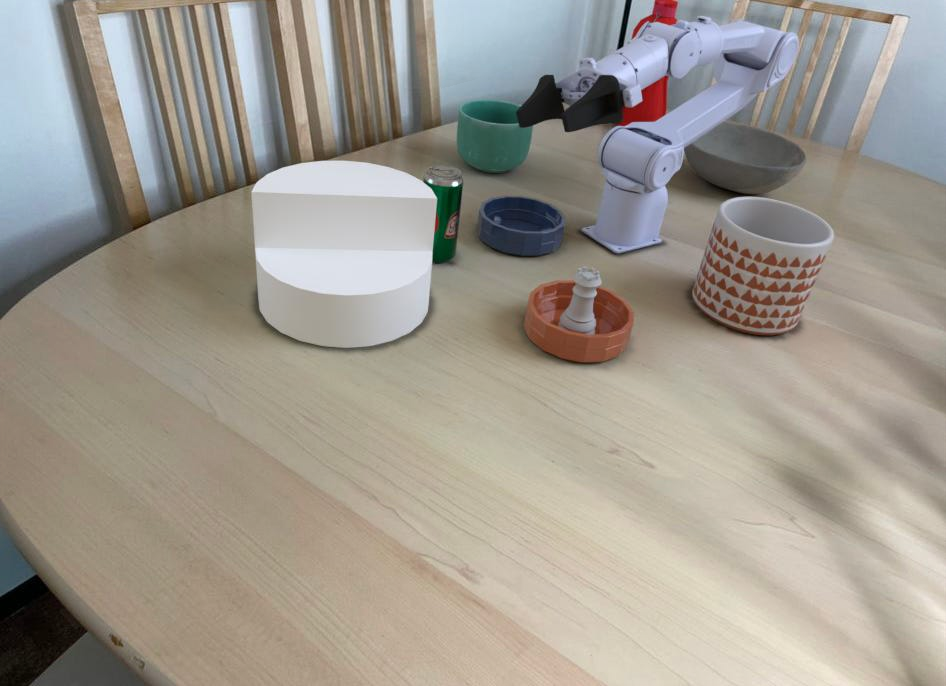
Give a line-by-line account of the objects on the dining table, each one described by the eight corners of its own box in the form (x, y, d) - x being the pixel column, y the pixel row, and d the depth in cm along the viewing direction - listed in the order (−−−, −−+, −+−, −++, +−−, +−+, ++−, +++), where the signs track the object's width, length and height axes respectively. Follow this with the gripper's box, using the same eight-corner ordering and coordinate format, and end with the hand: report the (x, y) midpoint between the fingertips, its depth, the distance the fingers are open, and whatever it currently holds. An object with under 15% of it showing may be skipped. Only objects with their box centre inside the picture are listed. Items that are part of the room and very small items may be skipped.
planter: (723, 271, 105) (752, 187, 98) (815, 314, 98) (853, 227, 91) (671, 300, 97) (698, 210, 90) (766, 350, 89) (804, 256, 82)
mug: (497, 186, 122) (505, 129, 117) (439, 162, 128) (444, 107, 123) (551, 162, 134) (561, 110, 128) (495, 142, 139) (502, 91, 134)
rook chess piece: (553, 320, 89) (565, 261, 85) (590, 321, 90) (603, 263, 85) (560, 341, 86) (573, 281, 81) (598, 342, 86) (613, 283, 82)
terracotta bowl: (580, 298, 95) (585, 272, 93) (648, 348, 87) (656, 321, 85) (503, 320, 89) (507, 293, 87) (569, 376, 81) (575, 348, 79)
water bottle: (602, 127, 154) (629, -4, 140) (628, 117, 161) (657, -8, 147) (641, 140, 149) (673, 6, 135) (666, 130, 156) (699, 2, 142)
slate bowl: (526, 213, 114) (530, 190, 112) (578, 248, 107) (583, 224, 104) (460, 227, 108) (463, 202, 106) (510, 264, 100) (514, 239, 98)
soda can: (450, 267, 98) (459, 182, 91) (413, 260, 98) (419, 174, 92) (458, 250, 102) (468, 167, 95) (423, 244, 103) (429, 160, 96)
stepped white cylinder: (251, 348, 79) (242, 235, 71) (264, 257, 95) (258, 156, 87) (438, 347, 83) (448, 240, 75) (420, 260, 99) (427, 164, 91)
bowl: (803, 185, 138) (818, 143, 133) (776, 221, 123) (793, 175, 118) (693, 153, 146) (705, 113, 142) (655, 183, 131) (667, 139, 126)
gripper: (569, 44, 95) (492, 86, 89) (661, 42, 84) (580, 89, 79) (580, 98, 99) (507, 141, 93) (669, 103, 88) (592, 151, 82)
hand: (541, 121), depth 86 cm, fingers open, 7 cm apart
